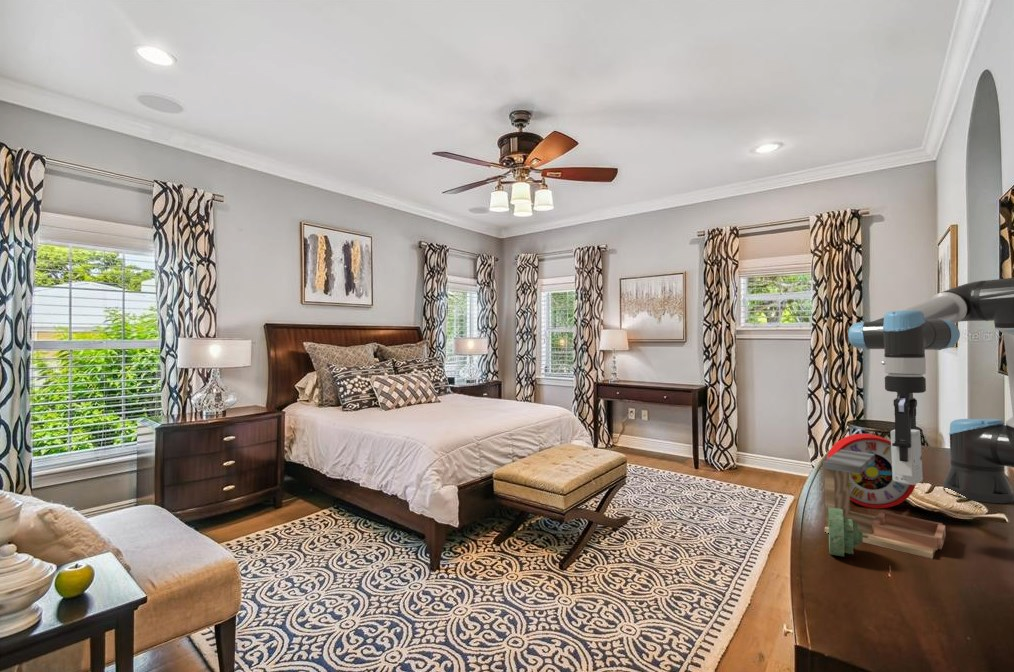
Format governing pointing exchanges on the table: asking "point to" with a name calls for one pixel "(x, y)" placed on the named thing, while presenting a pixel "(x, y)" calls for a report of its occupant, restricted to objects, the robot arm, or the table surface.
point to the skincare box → (916, 460)
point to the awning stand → (885, 526)
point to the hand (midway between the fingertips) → (906, 471)
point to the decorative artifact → (842, 533)
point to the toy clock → (873, 473)
